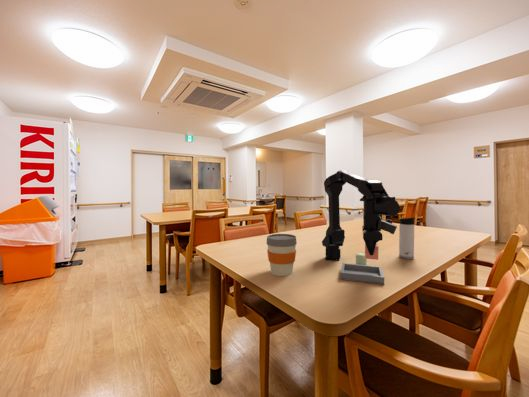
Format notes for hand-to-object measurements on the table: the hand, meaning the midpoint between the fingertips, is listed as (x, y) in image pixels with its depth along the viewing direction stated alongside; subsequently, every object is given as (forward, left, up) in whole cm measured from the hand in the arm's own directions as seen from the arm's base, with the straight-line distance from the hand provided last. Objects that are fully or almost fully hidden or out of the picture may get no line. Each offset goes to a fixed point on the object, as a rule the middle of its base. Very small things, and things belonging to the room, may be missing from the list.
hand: (371, 253), depth 92 cm
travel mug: (+18, +33, -10) cm, 38 cm away
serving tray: (-3, 0, -9) cm, 10 cm away
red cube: (0, 0, -2) cm, 2 cm away
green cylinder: (-3, +13, -9) cm, 16 cm away
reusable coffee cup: (-34, -6, -10) cm, 36 cm away
